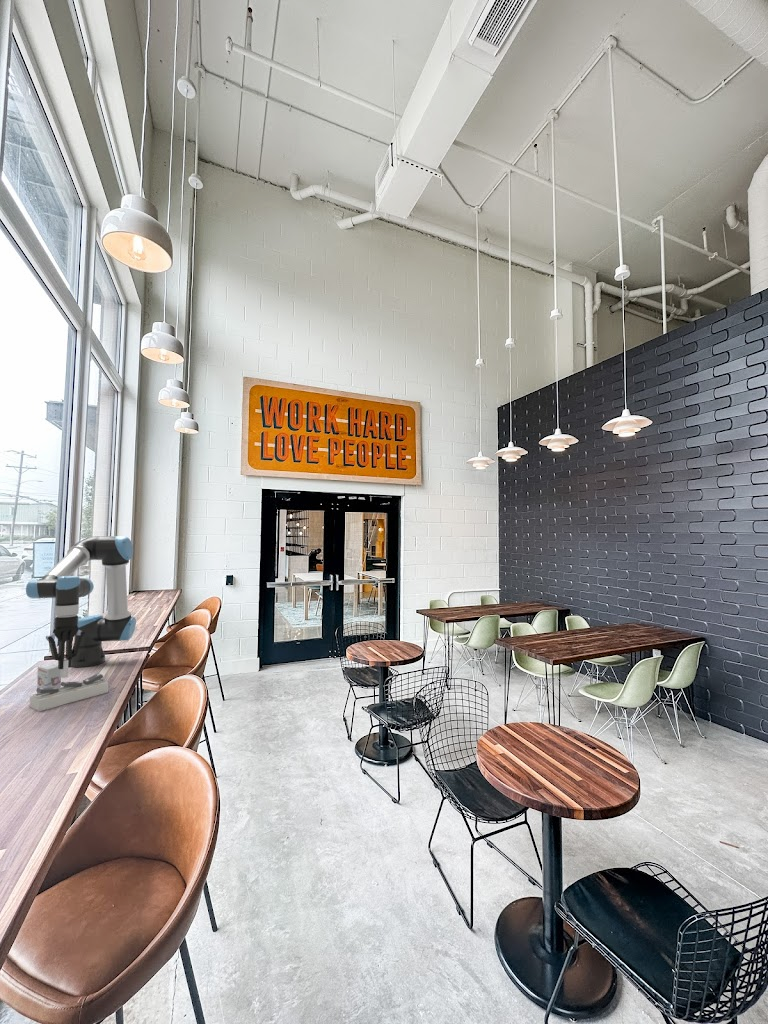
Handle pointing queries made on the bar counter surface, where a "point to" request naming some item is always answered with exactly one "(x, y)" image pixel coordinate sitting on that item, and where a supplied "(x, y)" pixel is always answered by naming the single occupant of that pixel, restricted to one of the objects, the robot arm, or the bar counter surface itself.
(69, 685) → the rocker
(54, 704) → the rocker switch panel
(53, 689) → the rocker
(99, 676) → the rocker
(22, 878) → the bar counter surface
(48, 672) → the ink box
